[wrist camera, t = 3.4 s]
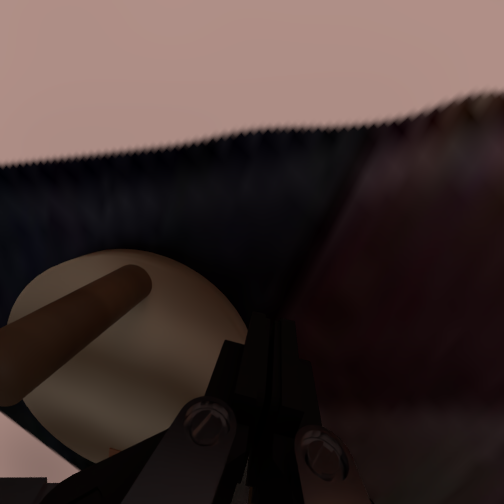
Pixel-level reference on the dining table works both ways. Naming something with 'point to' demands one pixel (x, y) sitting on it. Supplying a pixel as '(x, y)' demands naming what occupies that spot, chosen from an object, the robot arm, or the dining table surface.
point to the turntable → (113, 347)
